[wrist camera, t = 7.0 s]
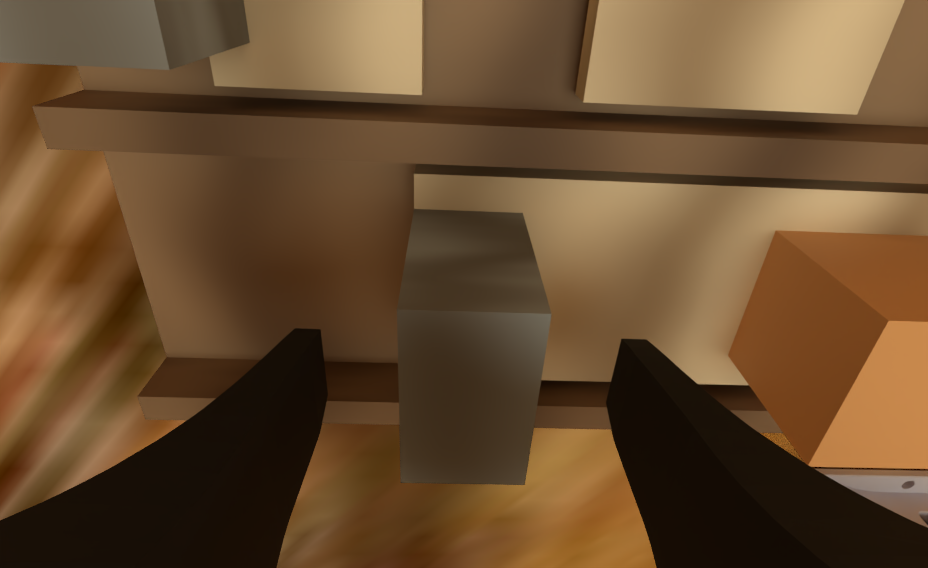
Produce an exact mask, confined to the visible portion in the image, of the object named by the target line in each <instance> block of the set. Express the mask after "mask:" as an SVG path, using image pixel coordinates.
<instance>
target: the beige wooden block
mask: <svg viewBox="0 0 928 568" xmlns="http://www.w3.org/2000/svg"><path fill="white" fill-rule="evenodd" d="M776 230H779V231H807V232H834V233H862V234H890V235H917V236H928V184H913V183H888V182H863V181H838V180H813V179H788V178H763V177H738V176H713V175H688V174H663V173H638V172H613V171H588V170H563V169H538V168H513V167H488V166H463V165H438V164H416V166H415V171H414V212H413V218H412V224H411V230H410V235H409V241H408V247H407V253H406V259H405V265H404V270H403V276H402V282H401V288H400V294H399V300H398V305H397V339H398V382H399V426H400V469H401V483H447V484H504V485H525V479H526V473H527V467H528V461H529V454H530V448H531V442H532V435H533V429H534V423H535V416H536V410H537V404H538V397H539V391H540V385H541V380H555V381H595V382H611V379H612V375H613V371H614V367H615V363H616V359H617V355H618V351H619V346H620V342H621V339H647V340H648V341H649V342H650V343H652V344H653V345H654V346H655V347H656V348H657V349H659V350H660V351H661V352H662V353H663V354H664V355H665V356H666V357H668V358H669V359H670V360H671V361H672V362H673V363H674V364H675V365H677V366H678V367H679V368H680V369H681V370H682V371H683V372H684V373H686V374H687V375H688V376H689V377H690V378H691V379H692V380H693V381H695V382H696V383H697V384H716V385H749V384H748V383H747V382H746V380H745V379H744V377H743V376H742V375H741V373H740V372H739V370H738V369H737V368H736V366H735V365H734V363H733V362H732V361H731V359H730V358H729V356H728V354H729V351H730V349H731V346H732V343H733V341H734V338H735V336H736V333H737V330H738V328H739V325H740V322H741V320H742V317H743V315H744V312H745V309H746V307H747V304H748V302H749V299H750V296H751V294H752V291H753V289H754V286H755V283H756V281H757V278H758V275H759V273H760V270H761V268H762V265H763V262H764V260H765V257H766V255H767V252H768V249H769V247H770V244H771V242H772V239H773V236H774V234H775V231H776Z"/></svg>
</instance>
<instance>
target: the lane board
mask: <svg viewBox="0 0 928 568" xmlns="http://www.w3.org/2000/svg"><path fill="white" fill-rule="evenodd" d="M0 62H6V63H28V64H50V65H72V66H77V67H78V71H79V74H80V77H81V80H82V84H83V87H84V90H82V91H79V92H76V93H73V94H69V95H66V96H63V97H60V98H57V99H54V100H50V101H47V102H44V103H41V104H38V105H35V106H32V107H33V110H34V113H35V116H36V118H37V121H38V124H39V127H40V129H41V132H42V135H43V138H44V141H45V143H46V146H47V149H62V150H87V151H103V152H104V155H105V158H106V162H107V165H108V168H109V171H110V174H111V178H112V181H113V184H114V187H115V191H116V194H117V197H118V200H119V204H120V207H121V210H122V213H123V217H124V220H125V223H126V226H127V230H128V233H129V236H130V239H131V243H132V246H133V249H134V252H135V256H136V259H137V262H138V265H139V269H140V272H141V275H142V278H143V282H144V285H145V288H146V291H147V295H148V298H149V301H150V304H151V307H152V311H153V314H154V317H155V320H156V324H157V327H158V330H159V333H160V337H161V340H162V343H163V346H164V350H165V353H166V356H167V358H166V359H165V360H164V362H163V363H162V364H161V366H160V367H159V368H158V370H157V371H156V372H155V374H154V375H153V376H152V378H151V379H150V380H149V382H148V383H147V384H146V386H145V387H144V388H143V390H142V391H141V392H140V394H139V395H138V396H137V397H138V400H139V403H140V405H141V408H142V411H143V414H144V416H145V419H149V420H188V419H190V418H191V417H193V416H194V415H195V414H197V413H198V412H199V411H201V410H202V409H203V408H205V407H206V406H207V405H209V404H210V403H211V402H212V401H213V400H215V399H216V398H217V397H218V396H220V395H221V394H222V393H223V392H225V391H226V390H227V389H228V388H229V387H231V386H232V385H233V384H234V383H235V382H237V381H238V380H239V379H240V378H241V377H242V376H243V375H244V374H246V373H247V372H248V371H249V370H250V369H251V368H252V367H253V366H254V365H256V364H257V363H258V362H259V361H260V360H261V359H262V358H263V357H264V356H265V355H266V354H267V353H269V352H270V351H271V350H272V349H273V348H274V347H275V346H276V345H277V344H278V343H279V342H280V341H281V340H282V339H283V338H284V337H286V336H287V335H288V334H289V333H290V332H291V331H292V330H293V329H295V328H303V329H321V337H322V346H323V354H324V363H325V372H326V381H327V390H328V397H327V402H326V407H325V412H324V417H323V421H322V423H336V424H382V425H399V382H398V339H397V305H398V300H399V294H400V288H401V282H402V276H403V270H404V265H405V259H406V253H407V247H408V241H409V235H410V230H411V224H412V218H413V212H414V171H415V166H416V164H438V165H463V166H488V167H513V168H538V169H563V170H588V171H613V172H638V173H663V174H688V175H713V176H738V177H763V178H788V179H813V180H838V181H863V182H888V183H913V184H928V0H0ZM610 383H611V382H595V381H555V380H541V385H540V391H539V397H538V404H537V410H536V416H535V423H534V428H568V429H611V425H610V421H609V416H608V411H607V406H606V400H607V396H608V391H609V387H610ZM698 385H699V386H700V387H702V388H703V389H704V390H705V391H706V392H707V393H709V394H710V395H711V396H712V397H713V398H715V399H716V400H717V401H718V402H720V403H721V404H722V405H723V406H724V407H726V408H727V409H728V410H730V411H731V412H732V413H733V414H735V415H736V416H737V417H739V418H740V419H741V420H742V421H744V422H745V423H746V424H748V425H749V426H750V427H752V428H753V429H754V430H756V431H757V432H759V433H783V432H782V430H781V429H780V428H779V426H778V425H777V424H776V422H775V421H774V419H773V418H772V417H771V415H770V414H769V412H768V411H767V410H766V408H765V407H764V405H763V404H762V403H761V401H760V400H759V398H758V397H757V396H756V394H755V393H754V391H753V390H752V389H751V387H750V386H749V385H716V384H698Z"/></svg>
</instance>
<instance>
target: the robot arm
mask: <svg viewBox="0 0 928 568" xmlns="http://www.w3.org/2000/svg"><path fill="white" fill-rule="evenodd" d="M327 397H328V390H327V381H326V372H325V363H324V354H323V346H322V337H321V329H303V328H295V329H293V330H292V331H291V332H290V333H289V334H288V335H287V336H286V337H284V338H283V339H282V340H281V341H280V342H279V343H278V344H277V345H276V346H275V347H274V348H273V349H272V350H271V351H270V352H269V353H267V354H266V355H265V356H264V357H263V358H262V359H261V360H260V361H259V362H258V363H257V364H256V365H254V366H253V367H252V368H251V369H250V370H249V371H248V372H247V373H246V374H244V375H243V376H242V377H241V378H240V379H239V380H238V381H237V382H235V383H234V384H233V385H232V386H231V387H229V388H228V389H227V390H226V391H225V392H223V393H222V394H221V395H220V396H218V397H217V398H216V399H215V400H213V401H212V402H211V403H210V404H209V405H207V406H206V407H205V408H203V409H202V410H201V411H199V412H198V413H197V414H195V415H194V416H193V417H191V418H190V419H188V420H187V421H186V422H184V423H183V424H181V425H180V426H178V427H177V428H175V429H174V430H172V431H171V432H169V433H168V434H166V435H165V436H163V437H162V438H160V439H159V440H157V441H155V442H154V443H152V444H150V445H149V446H147V447H145V448H144V449H142V450H140V451H139V452H137V453H135V454H134V455H132V456H130V457H128V458H127V459H125V460H123V461H122V462H120V463H118V464H117V465H115V466H113V467H111V468H110V469H108V470H106V471H104V472H102V473H100V474H98V475H96V476H94V477H93V478H91V479H89V480H87V481H85V482H83V483H81V484H79V485H77V486H75V487H73V488H71V489H69V490H67V491H65V492H63V493H61V494H59V495H57V496H55V497H52V498H50V499H48V500H46V501H44V502H42V503H40V504H37V505H35V506H33V507H30V508H28V509H26V510H23V511H21V512H19V513H17V514H14V515H12V516H10V517H7V518H5V519H3V520H1V521H0V568H276V567H277V563H278V559H279V555H280V551H281V547H282V543H283V539H284V535H285V532H286V529H287V525H288V522H289V519H290V516H291V513H292V510H293V508H294V505H295V502H296V499H297V496H298V494H299V491H300V488H301V485H302V482H303V479H304V477H305V474H306V471H307V468H308V465H309V463H310V460H311V457H312V454H313V451H314V448H315V446H316V443H317V440H318V437H319V434H320V430H321V426H322V421H323V417H324V412H325V407H326V402H327ZM606 406H607V411H608V416H609V421H610V425H611V430H612V434H613V438H614V442H615V445H616V448H617V450H618V453H619V456H620V459H621V462H622V465H623V467H624V470H625V473H626V476H627V478H628V481H629V484H630V487H631V489H632V492H633V495H634V497H635V500H636V503H637V506H638V508H639V511H640V514H641V517H642V519H643V522H644V525H645V528H646V531H647V534H648V537H649V540H650V544H651V547H652V551H653V555H654V559H655V563H656V567H657V568H928V471H917V470H864V469H814V468H812V467H810V466H809V465H807V464H805V463H804V462H802V461H801V460H799V459H797V458H796V457H794V456H793V455H791V454H790V453H788V452H787V451H785V450H784V449H782V448H781V447H779V446H778V445H776V444H775V443H773V442H772V441H770V440H769V439H767V438H766V437H764V436H763V435H761V434H760V433H759V432H757V431H756V430H754V429H753V428H752V427H750V426H749V425H748V424H746V423H745V422H744V421H742V420H741V419H740V418H739V417H737V416H736V415H735V414H733V413H732V412H731V411H730V410H728V409H727V408H726V407H724V406H723V405H722V404H721V403H720V402H718V401H717V400H716V399H715V398H713V397H712V396H711V395H710V394H709V393H707V392H706V391H705V390H704V389H703V388H702V387H700V386H699V385H698V384H697V383H696V382H695V381H693V380H692V379H691V378H690V377H689V376H688V375H687V374H686V373H684V372H683V371H682V370H681V369H680V368H679V367H678V366H677V365H675V364H674V363H673V362H672V361H671V360H670V359H669V358H668V357H666V356H665V355H664V354H663V353H662V352H661V351H660V350H659V349H657V348H656V347H655V346H654V345H653V344H652V343H650V342H649V341H648V340H647V339H621V342H620V346H619V351H618V355H617V359H616V363H615V367H614V371H613V375H612V379H611V383H610V387H609V391H608V396H607V400H606Z"/></svg>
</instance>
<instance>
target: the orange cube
mask: <svg viewBox="0 0 928 568" xmlns="http://www.w3.org/2000/svg"><path fill="white" fill-rule="evenodd" d="M728 356H729V358H730V359H731V361H732V362H733V363H734V365H735V366H736V368H737V369H738V370H739V372H740V373H741V375H742V376H743V377H744V379H745V380H746V382H747V383H748V384H749V386H750V387H751V389H752V390H753V391H754V393H755V394H756V396H757V397H758V398H759V400H760V401H761V403H762V404H763V405H764V407H765V408H766V410H767V411H768V412H769V414H770V415H771V417H772V418H773V419H774V421H775V422H776V424H777V425H778V426H779V428H780V429H781V430H782V432H783V433H784V435H785V436H786V437H787V439H788V440H789V442H790V443H791V444H792V446H793V447H794V449H795V450H796V451H797V453H798V454H799V456H800V457H801V458H802V460H803V461H804V463H805V464H807V465H809V466H810V467H849V468H901V469H928V236H917V235H890V234H862V233H834V232H807V231H779V230H776V231H775V234H774V236H773V239H772V242H771V244H770V247H769V249H768V252H767V255H766V257H765V260H764V262H763V265H762V268H761V270H760V273H759V275H758V278H757V281H756V283H755V286H754V289H753V291H752V294H751V296H750V299H749V302H748V304H747V307H746V309H745V312H744V315H743V317H742V320H741V322H740V325H739V328H738V330H737V333H736V336H735V338H734V341H733V343H732V346H731V349H730V351H729V354H728Z"/></svg>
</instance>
